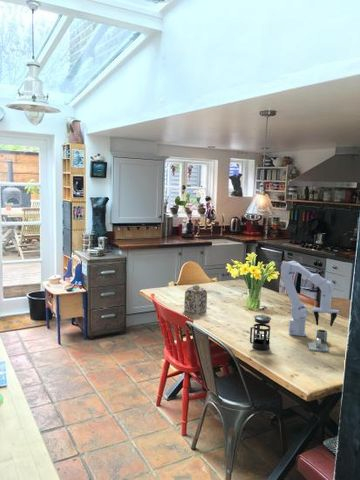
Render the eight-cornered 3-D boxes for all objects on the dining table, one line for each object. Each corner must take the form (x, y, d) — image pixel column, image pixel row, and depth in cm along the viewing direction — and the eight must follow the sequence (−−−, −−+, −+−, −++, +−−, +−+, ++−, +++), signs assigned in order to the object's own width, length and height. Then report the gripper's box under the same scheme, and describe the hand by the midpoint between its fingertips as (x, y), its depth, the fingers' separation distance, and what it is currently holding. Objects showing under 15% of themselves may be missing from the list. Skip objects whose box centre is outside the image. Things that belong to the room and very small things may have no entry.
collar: (316, 342, 229) (317, 332, 228) (315, 339, 235) (316, 329, 234) (326, 343, 228) (327, 333, 227) (325, 339, 233) (326, 330, 233)
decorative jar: (197, 314, 274) (198, 288, 272) (183, 311, 281) (184, 285, 279) (207, 310, 284) (208, 285, 281) (193, 307, 290) (194, 282, 288)
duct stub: (309, 350, 218) (309, 341, 217) (307, 343, 227) (308, 334, 227) (328, 352, 215) (329, 343, 215) (326, 345, 225) (327, 336, 224)
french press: (266, 343, 226) (268, 303, 223) (273, 350, 217) (276, 308, 214) (246, 344, 223) (248, 304, 220) (253, 351, 214) (255, 309, 211)
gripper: (313, 303, 226) (312, 326, 228) (340, 305, 224) (338, 328, 225) (311, 299, 233) (310, 322, 235) (337, 301, 231) (336, 324, 232)
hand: (324, 325), depth 230 cm, fingers open, 7 cm apart
